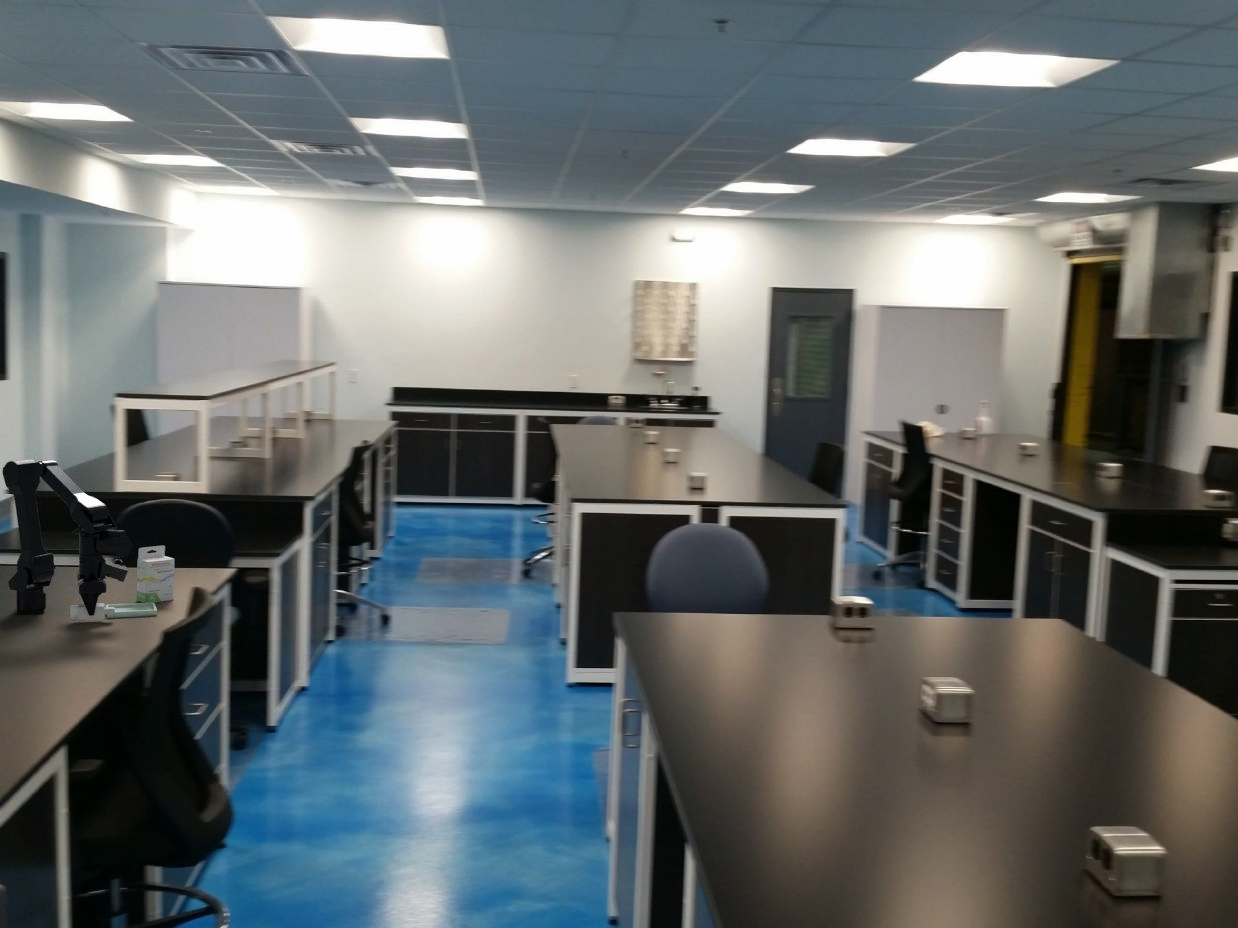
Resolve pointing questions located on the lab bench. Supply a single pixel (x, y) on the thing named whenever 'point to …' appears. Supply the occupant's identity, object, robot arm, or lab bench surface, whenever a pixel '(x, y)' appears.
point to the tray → (133, 610)
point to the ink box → (154, 575)
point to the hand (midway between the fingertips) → (91, 613)
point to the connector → (81, 612)
